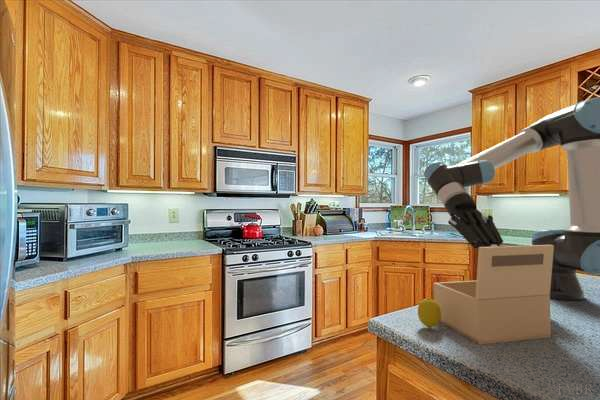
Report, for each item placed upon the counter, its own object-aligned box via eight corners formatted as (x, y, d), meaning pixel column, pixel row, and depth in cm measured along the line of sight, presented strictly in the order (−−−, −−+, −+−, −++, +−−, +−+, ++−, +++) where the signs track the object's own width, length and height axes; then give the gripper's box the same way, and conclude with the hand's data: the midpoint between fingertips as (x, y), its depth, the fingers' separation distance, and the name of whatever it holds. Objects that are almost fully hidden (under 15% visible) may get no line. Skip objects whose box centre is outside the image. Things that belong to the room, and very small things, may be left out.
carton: (494, 313, 85) (493, 279, 86) (551, 336, 70) (549, 295, 70) (434, 318, 82) (433, 282, 82) (479, 344, 66) (478, 300, 66)
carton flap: (546, 292, 71) (550, 244, 70) (550, 294, 70) (554, 245, 69) (475, 298, 67) (478, 247, 66) (478, 299, 66) (482, 248, 65)
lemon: (431, 334, 71) (430, 301, 72) (413, 326, 76) (412, 296, 76) (446, 330, 74) (445, 298, 74) (427, 322, 79) (427, 293, 79)
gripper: (469, 209, 90) (519, 276, 73) (431, 209, 88) (474, 279, 71) (482, 192, 85) (540, 259, 68) (442, 191, 82) (492, 261, 66)
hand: (506, 269), depth 69 cm, fingers closed
